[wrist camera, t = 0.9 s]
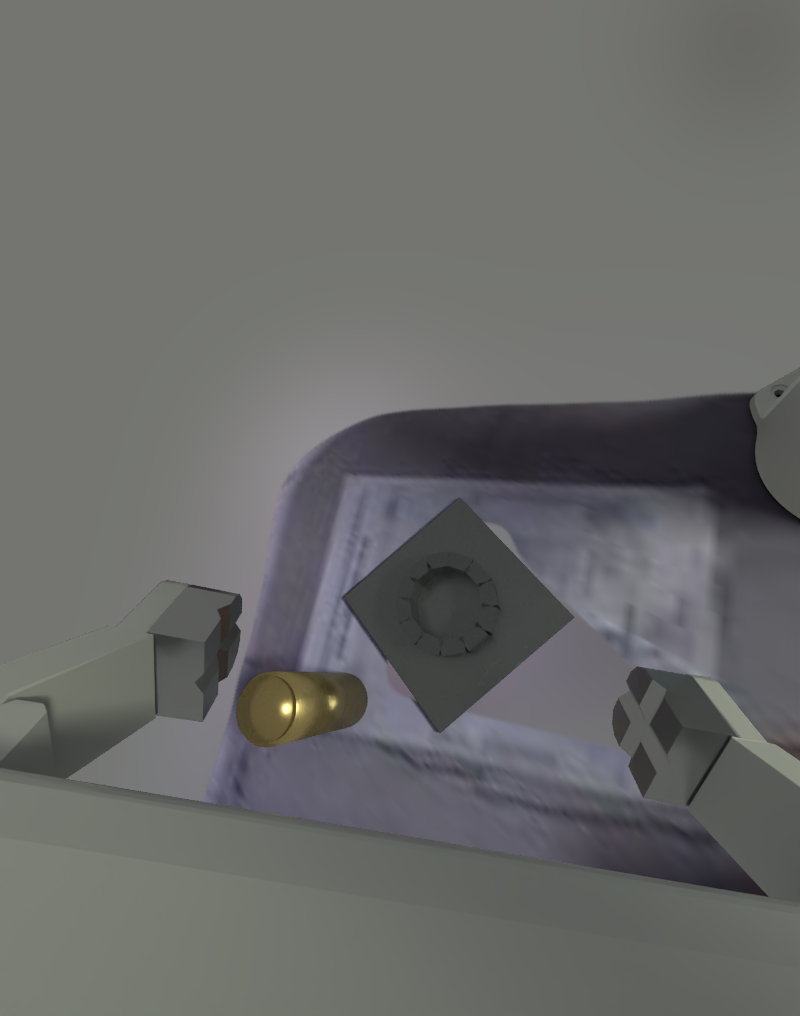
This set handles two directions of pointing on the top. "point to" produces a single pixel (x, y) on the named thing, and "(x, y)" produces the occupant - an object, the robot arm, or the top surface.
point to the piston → (298, 705)
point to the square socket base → (455, 612)
